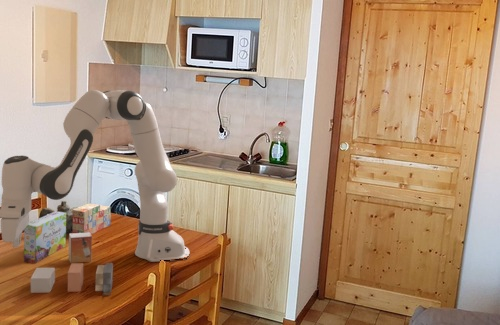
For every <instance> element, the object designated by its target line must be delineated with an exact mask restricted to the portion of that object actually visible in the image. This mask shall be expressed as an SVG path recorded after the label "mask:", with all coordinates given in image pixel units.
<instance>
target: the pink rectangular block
mask: <svg viewBox="0 0 500 325" xmlns="http://www.w3.org/2000/svg"><path fill="white" fill-rule="evenodd" d="M83 284H84V263H70V266H69V269H68V271H67V293H70V292H72V293H73V292H77V293H78V292H81V290H82V287H83Z"/></svg>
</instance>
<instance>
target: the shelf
mask: <svg viewBox="0 0 500 325" xmlns="http://www.w3.org/2000/svg"><path fill="white" fill-rule="evenodd" d="M113 268H114V262H113V263H112V262H109V263H108V262H107V263H105V264H97V267H96V272H95V287H94V288H95V292H102V295H101V296H111V294H112V288H113V279H114V278H113V277H114V276H113V274H114V273H113V272H114V269H113Z"/></svg>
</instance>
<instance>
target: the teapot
mask: <svg viewBox="0 0 500 325" xmlns="http://www.w3.org/2000/svg"><path fill="white" fill-rule="evenodd" d="M60 202H61V203H60V204H59V205H57V207H56V210H55V209H52V208H50V207H43V208H42V209H41V210H40V212H39V215H38V216H39V217H38V219H39V218H41V217H44V216H46V215H48V214H50V213H53V212H55V211H57V212H64V213H66V235H67V234H70V233H72V216H73V209H76V208H78V207H77V206H74V207H72V208H71V207H70V206H69V205H68V204H67V201H66V200H61V201H60Z"/></svg>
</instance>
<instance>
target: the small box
mask: <svg viewBox="0 0 500 325" xmlns="http://www.w3.org/2000/svg"><path fill="white" fill-rule="evenodd" d="M68 234H69V235H68V260H69V263H70V264H80V263H89V262H92V246H93V244H92V243H93V242H92V240H93V238H92V234H90V232H87V233H73V234H72V232H71V233H68Z"/></svg>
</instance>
